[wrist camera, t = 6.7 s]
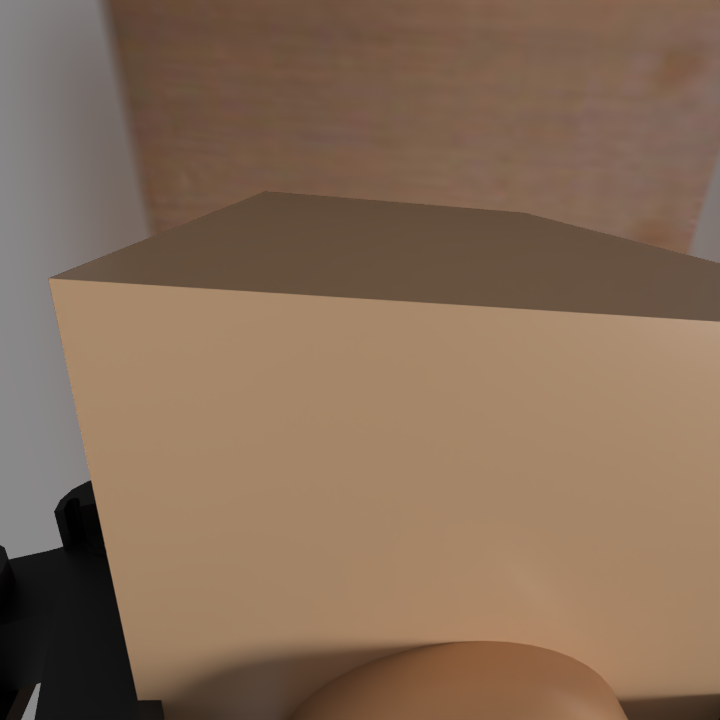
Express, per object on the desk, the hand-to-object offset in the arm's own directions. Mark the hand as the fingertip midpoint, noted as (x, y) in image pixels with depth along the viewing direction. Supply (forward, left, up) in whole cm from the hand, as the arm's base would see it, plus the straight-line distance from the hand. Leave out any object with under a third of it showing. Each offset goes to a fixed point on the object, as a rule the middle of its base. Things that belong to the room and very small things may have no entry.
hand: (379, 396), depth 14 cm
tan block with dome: (0, 0, -1) cm, 1 cm away
